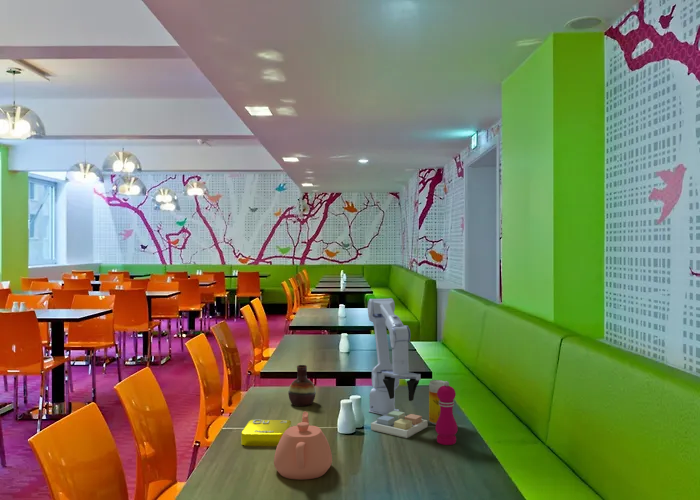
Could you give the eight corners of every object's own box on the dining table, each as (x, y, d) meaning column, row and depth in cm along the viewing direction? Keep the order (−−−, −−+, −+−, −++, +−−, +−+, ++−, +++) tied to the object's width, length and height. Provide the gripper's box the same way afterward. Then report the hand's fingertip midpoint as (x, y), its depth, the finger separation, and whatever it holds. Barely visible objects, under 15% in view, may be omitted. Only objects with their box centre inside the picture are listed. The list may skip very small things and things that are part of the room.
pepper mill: (457, 446, 182) (457, 384, 182) (434, 444, 183) (434, 383, 183) (457, 438, 189) (457, 379, 189) (435, 437, 190) (435, 378, 190)
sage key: (387, 419, 204) (387, 413, 204) (394, 416, 208) (394, 410, 208) (398, 421, 201) (398, 415, 201) (404, 418, 205) (404, 412, 205)
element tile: (239, 447, 183) (239, 432, 183) (249, 431, 198) (249, 418, 198) (285, 447, 183) (285, 432, 182) (292, 432, 198) (292, 418, 197)
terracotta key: (404, 423, 200) (404, 416, 200) (410, 419, 204) (410, 413, 204) (415, 425, 197) (415, 419, 197) (421, 422, 201) (421, 416, 201)
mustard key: (393, 428, 194) (393, 422, 194) (400, 424, 198) (400, 418, 198) (405, 430, 192) (405, 424, 192) (411, 427, 195) (411, 421, 195)
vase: (284, 401, 234) (284, 364, 234) (309, 398, 238) (309, 362, 238) (293, 409, 224) (293, 370, 224) (319, 405, 228) (319, 367, 228)
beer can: (440, 426, 202) (440, 384, 201) (426, 423, 205) (425, 382, 205) (448, 422, 206) (448, 381, 206) (434, 419, 210) (434, 378, 210)
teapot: (279, 452, 177) (279, 409, 177) (333, 452, 177) (333, 409, 177) (268, 486, 152) (268, 437, 152) (331, 486, 152) (331, 436, 152)
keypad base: (371, 430, 198) (371, 423, 198) (392, 419, 210) (392, 413, 210) (406, 438, 190) (406, 431, 190) (427, 426, 201) (427, 420, 201)
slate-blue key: (376, 424, 198) (376, 418, 198) (383, 421, 202) (383, 415, 202) (387, 427, 196) (387, 420, 196) (394, 423, 199) (394, 417, 199)
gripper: (377, 360, 201) (377, 399, 200) (414, 363, 193) (415, 403, 192) (386, 358, 207) (387, 395, 206) (422, 360, 199) (423, 399, 198)
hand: (401, 399), depth 200 cm, fingers open, 7 cm apart
